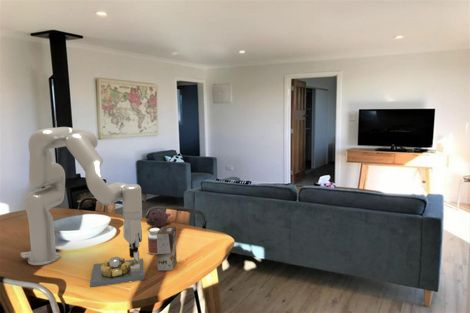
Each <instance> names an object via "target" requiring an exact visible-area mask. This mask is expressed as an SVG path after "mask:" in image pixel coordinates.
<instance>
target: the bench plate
mask: <svg viewBox="0 0 470 313" xmlns="http://www.w3.org/2000/svg"><path fill="white" fill-rule="evenodd" d="M121 258H122V257H119V256H114V257H110V258H109V259H108V261H109V266H110V267H111V269H117V268H120V267H121ZM125 260H126V261H128V262H129V263H131V262H134V259H125ZM139 260H140V264H135V265H131V269H129V271H128V272H126V273H125V274H122V275H120V276H114V277H112V276H111V277H108V276H103V275H102V274H101V265H103V264H104V262H101V263H93V266H92V271H91V276H90V279H89V288H93V287H95V288H96V287H101V286H102V285H103V286H108V284H110V285H116V284H115V283H117V284H123V283H122V282H125V283H130V282H129V281H132V282H138V281H137V280H140V281H145V280H146V278H145V268H144V259H143V258H139Z"/></svg>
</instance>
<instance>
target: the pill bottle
mask: <svg viewBox="0 0 470 313" xmlns="http://www.w3.org/2000/svg"><path fill="white" fill-rule="evenodd" d="M160 229H161V228H158V227H153V228H149V230H148V232H149V234H148V235H147V248H148V254H150V255H157V233H158V231H159V230H160Z"/></svg>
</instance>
